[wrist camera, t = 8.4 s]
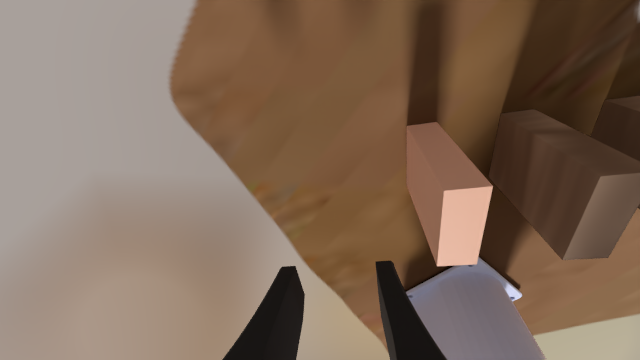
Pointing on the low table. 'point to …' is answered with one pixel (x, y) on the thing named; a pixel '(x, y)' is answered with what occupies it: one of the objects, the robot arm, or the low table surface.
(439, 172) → the terracotta domino
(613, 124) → the walnut domino
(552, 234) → the walnut domino
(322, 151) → the low table surface
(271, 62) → the low table surface
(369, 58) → the low table surface
